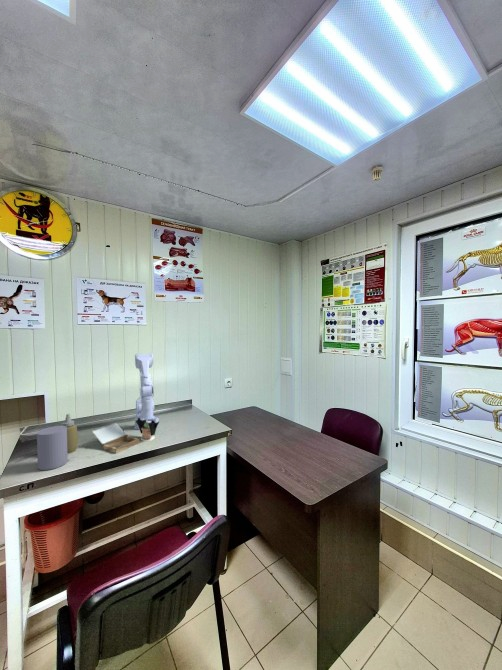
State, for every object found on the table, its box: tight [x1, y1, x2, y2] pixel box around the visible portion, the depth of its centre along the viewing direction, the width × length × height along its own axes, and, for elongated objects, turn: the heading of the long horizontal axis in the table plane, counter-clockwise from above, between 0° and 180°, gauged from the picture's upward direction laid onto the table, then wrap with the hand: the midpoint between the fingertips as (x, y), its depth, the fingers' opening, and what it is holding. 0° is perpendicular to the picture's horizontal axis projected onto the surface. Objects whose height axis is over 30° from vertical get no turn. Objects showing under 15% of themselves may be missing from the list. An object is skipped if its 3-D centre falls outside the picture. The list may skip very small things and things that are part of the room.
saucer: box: [140, 435, 156, 442], centre depth 140 cm, size 7×7×1 cm
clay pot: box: [141, 422, 152, 440], centre depth 140 cm, size 5×5×8 cm
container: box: [36, 425, 69, 471], centre depth 114 cm, size 10×10×15 cm
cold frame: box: [102, 428, 141, 454], centre depth 132 cm, size 14×14×5 cm
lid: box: [91, 422, 127, 446], centre depth 135 cm, size 10×13×1 cm
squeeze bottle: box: [61, 413, 80, 454], centre depth 126 cm, size 8×8×18 cm
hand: (147, 433), depth 140 cm, fingers open, 7 cm apart
